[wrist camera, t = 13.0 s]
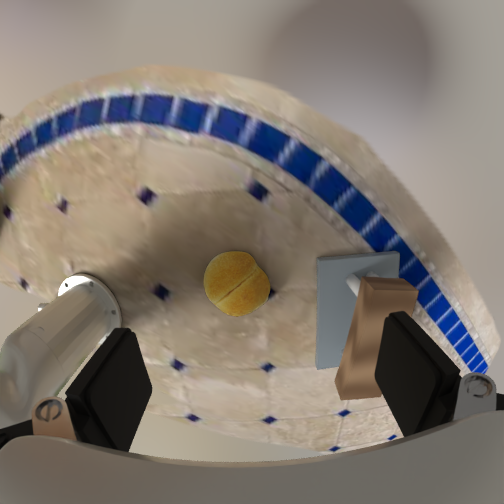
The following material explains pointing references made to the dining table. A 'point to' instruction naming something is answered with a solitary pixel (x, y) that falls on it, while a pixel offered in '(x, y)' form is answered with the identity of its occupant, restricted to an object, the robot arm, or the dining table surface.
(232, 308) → the bread roll
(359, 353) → the brown wooden block
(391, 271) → the peg stand
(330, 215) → the dining table surface
